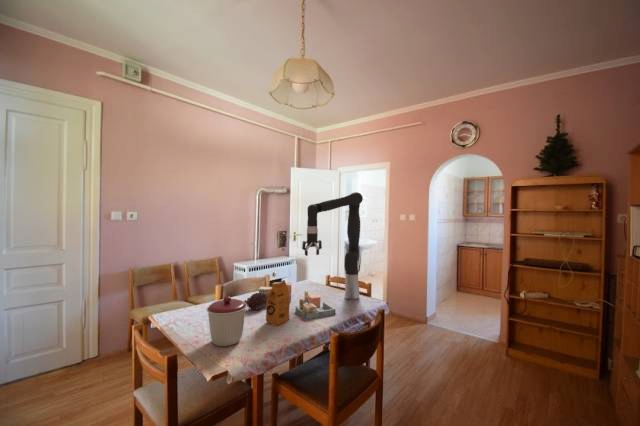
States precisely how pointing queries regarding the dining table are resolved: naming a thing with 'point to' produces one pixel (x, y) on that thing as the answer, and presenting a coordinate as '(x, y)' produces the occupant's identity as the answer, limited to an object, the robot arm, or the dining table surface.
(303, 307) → the birch block
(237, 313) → the canister
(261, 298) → the pine cone
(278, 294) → the coffee package
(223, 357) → the dining table surface
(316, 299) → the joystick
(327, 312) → the shelf rack
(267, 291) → the stack of blocks
